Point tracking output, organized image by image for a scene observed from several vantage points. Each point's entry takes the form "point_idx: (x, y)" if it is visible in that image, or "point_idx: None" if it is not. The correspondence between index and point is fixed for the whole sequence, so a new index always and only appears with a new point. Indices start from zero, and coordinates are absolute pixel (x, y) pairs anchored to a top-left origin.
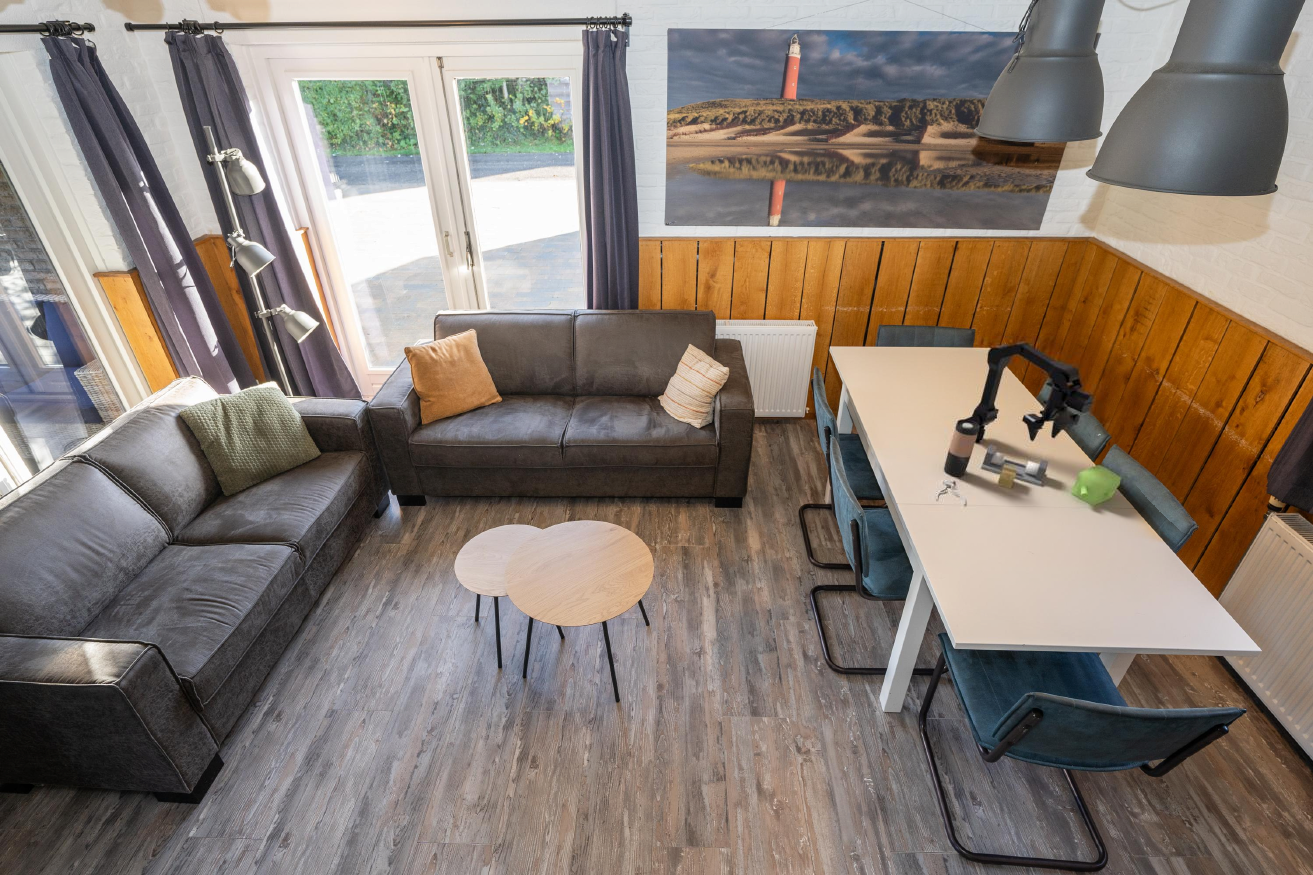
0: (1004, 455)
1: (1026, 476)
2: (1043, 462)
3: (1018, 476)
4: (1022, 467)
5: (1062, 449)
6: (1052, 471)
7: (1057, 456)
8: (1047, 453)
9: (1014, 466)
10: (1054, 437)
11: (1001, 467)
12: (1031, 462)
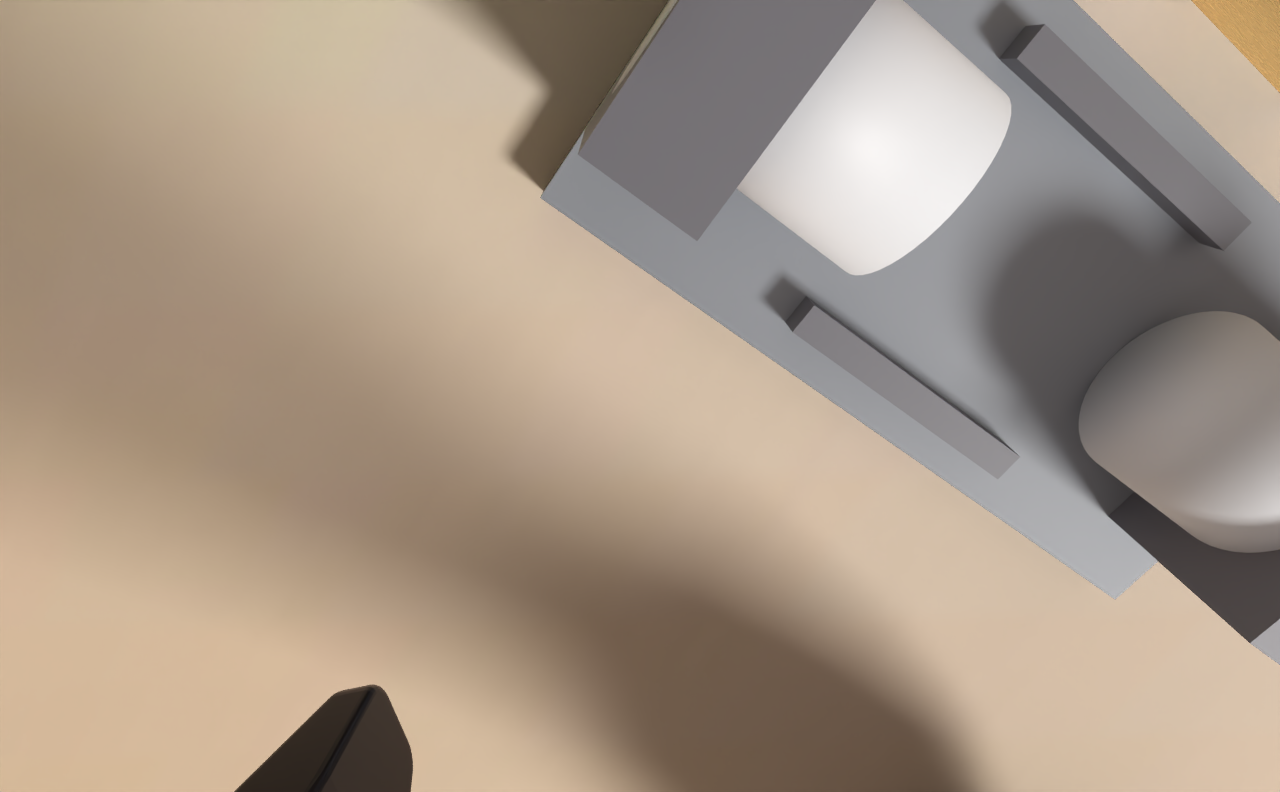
0: (1251, 425)
1: (941, 32)
2: (726, 100)
3: (1078, 33)
4: (832, 300)
5: (11, 731)
6: (374, 239)
7: (137, 595)
8: (247, 653)
9: (938, 326)
10: (340, 710)
11: (1150, 302)
12: (916, 178)
